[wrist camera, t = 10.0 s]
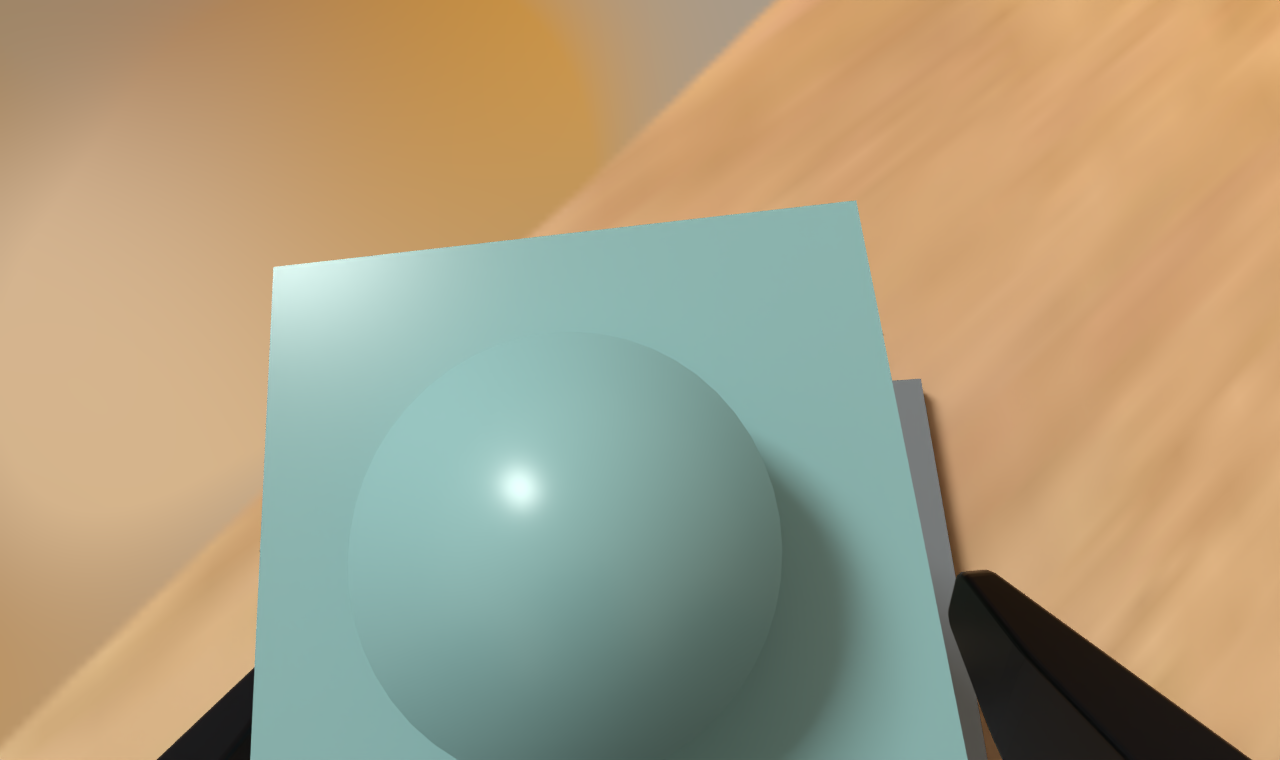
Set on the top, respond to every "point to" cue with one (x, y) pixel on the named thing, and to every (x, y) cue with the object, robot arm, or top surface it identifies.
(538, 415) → the pillar
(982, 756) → the grey board with socket
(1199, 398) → the top surface
